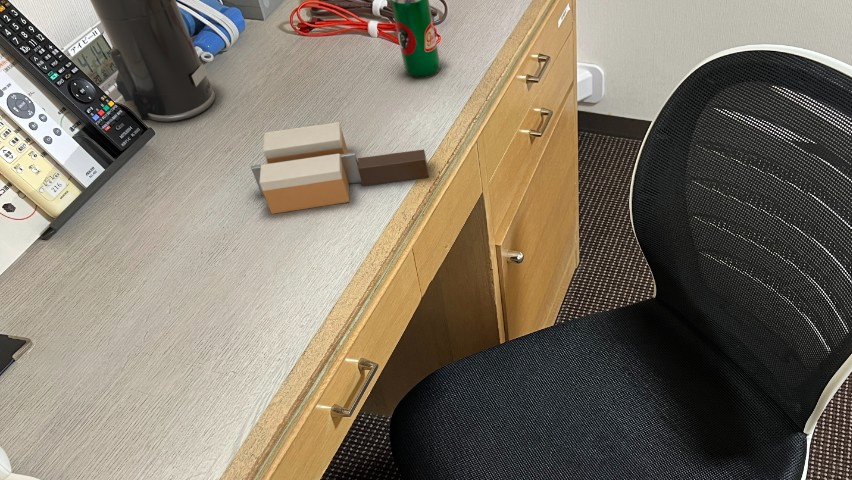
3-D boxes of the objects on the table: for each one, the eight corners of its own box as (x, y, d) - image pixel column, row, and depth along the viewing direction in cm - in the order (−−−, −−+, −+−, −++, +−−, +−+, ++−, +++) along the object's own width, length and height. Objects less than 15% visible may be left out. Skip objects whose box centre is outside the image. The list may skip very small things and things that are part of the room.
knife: (261, 200, 98) (250, 172, 95) (262, 189, 100) (251, 161, 97) (428, 177, 101) (423, 149, 98) (427, 166, 102) (422, 139, 99)
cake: (274, 181, 101) (262, 150, 98) (275, 163, 103) (264, 132, 100) (349, 170, 102) (339, 139, 99) (348, 152, 105) (339, 121, 101)
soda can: (438, 79, 117) (423, -5, 108) (403, 80, 117) (385, -3, 108) (442, 61, 120) (428, -21, 111) (408, 62, 120) (391, -20, 111)
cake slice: (271, 214, 96) (259, 182, 93) (273, 195, 99) (260, 164, 96) (349, 202, 98) (339, 170, 94) (348, 184, 100) (339, 153, 97)
